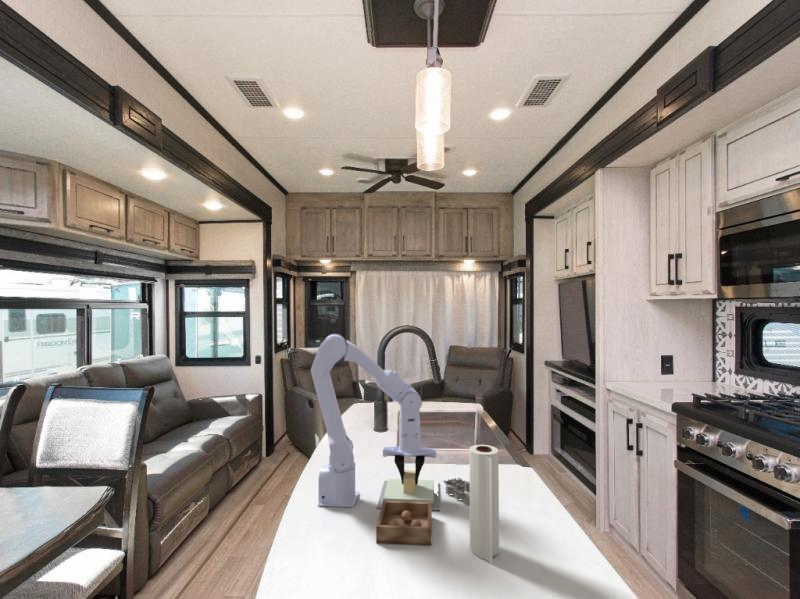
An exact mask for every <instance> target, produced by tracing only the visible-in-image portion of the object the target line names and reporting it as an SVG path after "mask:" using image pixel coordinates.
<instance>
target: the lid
mask: <svg viewBox="0 0 800 599" xmlns="http://www.w3.org/2000/svg"><path fill="white" fill-rule="evenodd" d="M404 470H405V469H404ZM415 474H416V470H408V469H407V470H405V473H404V479H403V484H402V480H401V478H388V480H387V481H388V483H387V486H386V490H385V493H384V497H383V501H407V502H432V503H434V482H435V481H434V479H418V485H415Z"/></svg>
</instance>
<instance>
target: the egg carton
mask: <svg viewBox="0 0 800 599" xmlns="http://www.w3.org/2000/svg"><path fill="white" fill-rule="evenodd" d="M443 483H444V484H445V495H446V494H448V495H449V494H453V495H454V496H453V497H454V498H455V499H457V500H456V501H459V500H458V499H462V500H463V501H462V500H461V501H462V502H463V503H464V504H465V505H464V504H463V505H464V506H470V494H468V495H466V494H465V492H466V491H467V492H466V493H468V492H470V480H469V481H468V480H463V478H461V477H458V478H456V477H454V478H451V479H450V478H448V480H443ZM448 495H447V496H448ZM455 499H454V500H455Z"/></svg>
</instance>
